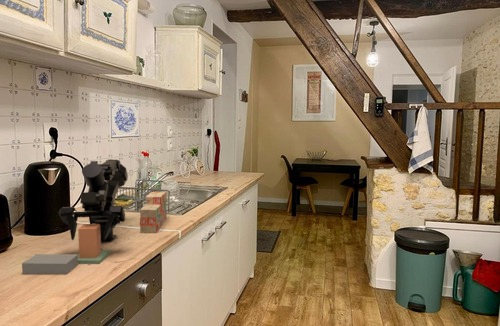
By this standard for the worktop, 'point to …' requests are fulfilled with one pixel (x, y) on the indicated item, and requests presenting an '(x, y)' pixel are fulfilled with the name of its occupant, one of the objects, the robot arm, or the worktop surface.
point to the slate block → (50, 264)
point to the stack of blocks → (153, 212)
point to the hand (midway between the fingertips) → (88, 238)
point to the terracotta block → (89, 241)
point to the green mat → (97, 260)
